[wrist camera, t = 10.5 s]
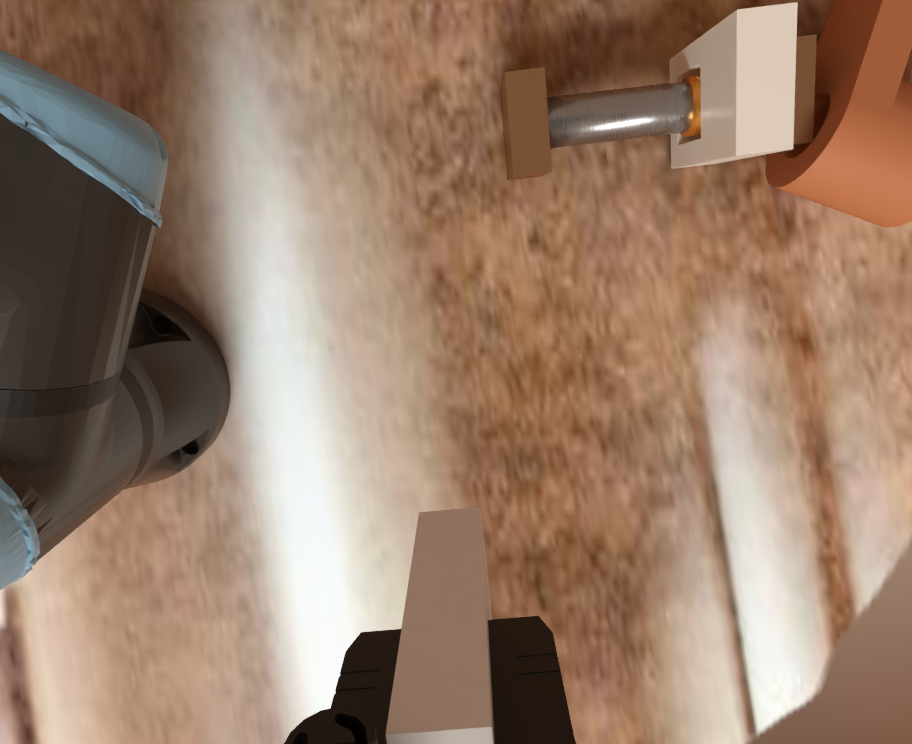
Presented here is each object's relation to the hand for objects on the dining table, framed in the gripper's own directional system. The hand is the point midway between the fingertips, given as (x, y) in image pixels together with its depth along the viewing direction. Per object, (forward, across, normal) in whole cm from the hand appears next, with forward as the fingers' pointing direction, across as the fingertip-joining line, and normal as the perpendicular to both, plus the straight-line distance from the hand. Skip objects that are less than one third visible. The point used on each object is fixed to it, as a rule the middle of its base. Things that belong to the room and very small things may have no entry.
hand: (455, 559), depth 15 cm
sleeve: (+32, +17, +13) cm, 39 cm away
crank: (+33, +29, +15) cm, 47 cm away
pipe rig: (+32, +14, +13) cm, 37 cm away
